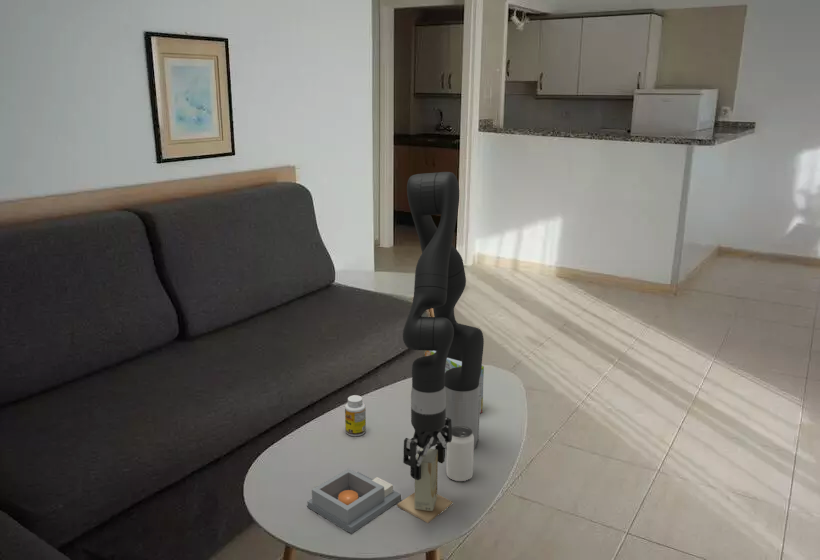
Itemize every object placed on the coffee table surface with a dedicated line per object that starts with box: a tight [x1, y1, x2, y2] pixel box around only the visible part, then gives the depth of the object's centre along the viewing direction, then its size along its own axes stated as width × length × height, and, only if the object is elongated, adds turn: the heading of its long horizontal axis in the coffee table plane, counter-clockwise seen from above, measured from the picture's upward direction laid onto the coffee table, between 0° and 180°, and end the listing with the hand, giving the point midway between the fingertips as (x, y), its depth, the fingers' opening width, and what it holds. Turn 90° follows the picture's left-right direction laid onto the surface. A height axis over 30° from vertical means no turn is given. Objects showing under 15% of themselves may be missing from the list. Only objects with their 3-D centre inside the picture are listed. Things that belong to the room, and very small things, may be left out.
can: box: [446, 426, 475, 482], centre depth 161 cm, size 6×6×12 cm
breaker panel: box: [307, 467, 402, 534], centre depth 151 cm, size 16×14×5 cm
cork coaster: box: [396, 491, 454, 524], centre depth 151 cm, size 9×9×1 cm
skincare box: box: [414, 447, 439, 511], centre depth 149 cm, size 6×4×12 cm
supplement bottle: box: [344, 394, 367, 437], centre depth 181 cm, size 6×6×10 cm
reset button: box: [337, 490, 359, 505], centre depth 150 cm, size 4×4×3 cm
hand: (428, 469), depth 149 cm, fingers open, 8 cm apart
